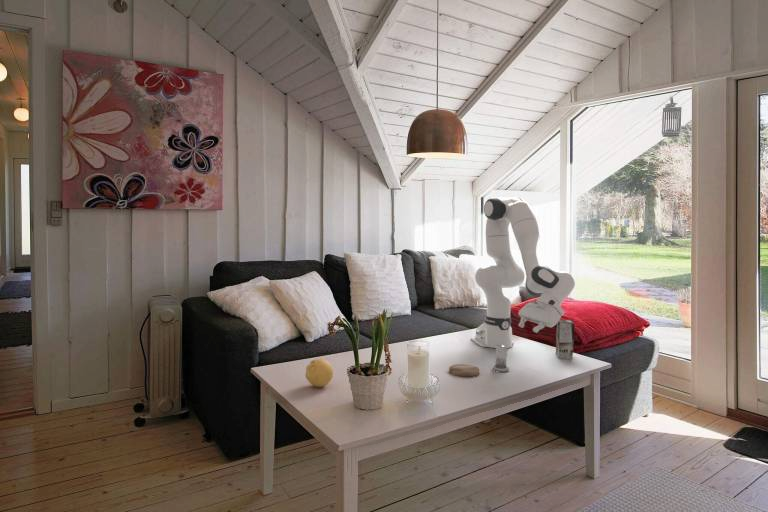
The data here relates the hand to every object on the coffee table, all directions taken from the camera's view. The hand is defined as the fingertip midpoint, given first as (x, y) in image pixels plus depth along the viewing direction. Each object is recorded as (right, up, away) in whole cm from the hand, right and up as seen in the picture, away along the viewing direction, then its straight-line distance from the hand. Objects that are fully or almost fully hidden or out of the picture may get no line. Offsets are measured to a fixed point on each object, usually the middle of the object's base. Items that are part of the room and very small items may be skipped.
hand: (527, 329), depth 211 cm
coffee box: (+22, -15, +19) cm, 33 cm away
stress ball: (-83, -17, -27) cm, 89 cm away
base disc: (-27, -16, -7) cm, 33 cm away
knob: (-12, -16, -3) cm, 20 cm away
